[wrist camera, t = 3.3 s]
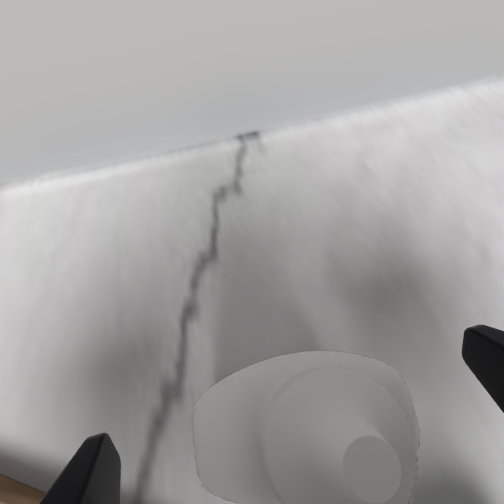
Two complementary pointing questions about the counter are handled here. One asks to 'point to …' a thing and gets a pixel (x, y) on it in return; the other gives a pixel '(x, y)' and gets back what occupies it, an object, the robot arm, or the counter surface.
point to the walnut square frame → (18, 492)
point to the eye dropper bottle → (308, 432)
